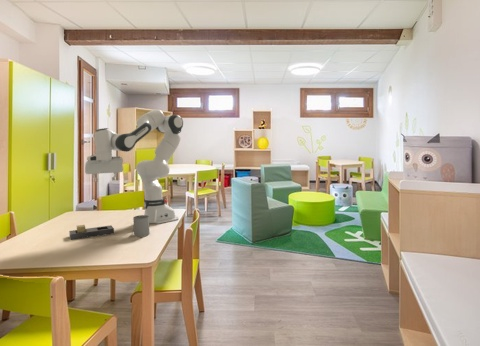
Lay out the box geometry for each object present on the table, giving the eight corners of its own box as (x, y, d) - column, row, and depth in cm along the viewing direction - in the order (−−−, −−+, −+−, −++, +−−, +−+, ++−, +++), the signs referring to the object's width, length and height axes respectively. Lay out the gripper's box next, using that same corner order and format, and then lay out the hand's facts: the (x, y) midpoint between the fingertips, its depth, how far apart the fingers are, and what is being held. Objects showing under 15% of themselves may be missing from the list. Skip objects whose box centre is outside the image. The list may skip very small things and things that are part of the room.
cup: (151, 232, 194) (150, 215, 193) (147, 236, 186) (147, 218, 185) (136, 232, 194) (135, 215, 193) (132, 236, 185) (131, 218, 184)
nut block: (85, 235, 190) (84, 224, 189) (85, 237, 186) (85, 226, 185) (77, 236, 188) (76, 225, 187) (77, 238, 184) (77, 227, 183)
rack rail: (111, 230, 199) (111, 225, 198) (114, 233, 192) (113, 228, 191) (69, 236, 188) (69, 230, 187) (70, 240, 181) (70, 234, 180)
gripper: (121, 155, 202) (122, 179, 203) (83, 157, 191) (85, 181, 193) (123, 156, 196) (124, 180, 198) (85, 157, 186) (86, 183, 187)
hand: (104, 181), depth 195 cm, fingers open, 8 cm apart
